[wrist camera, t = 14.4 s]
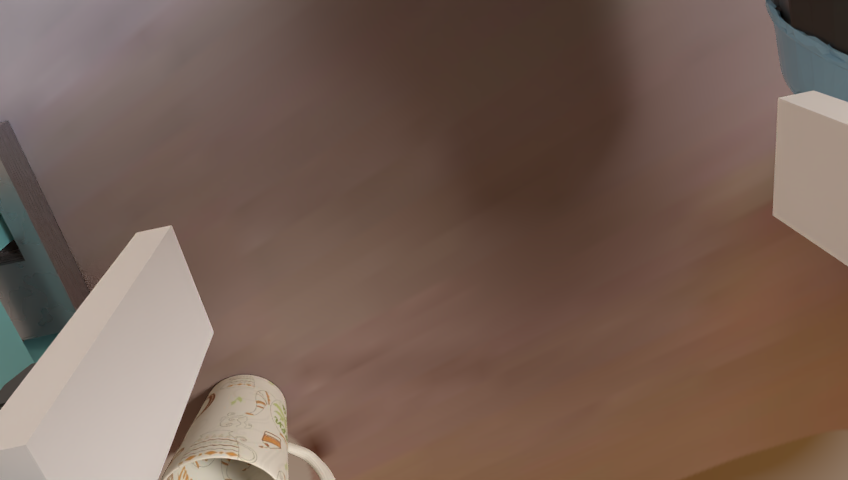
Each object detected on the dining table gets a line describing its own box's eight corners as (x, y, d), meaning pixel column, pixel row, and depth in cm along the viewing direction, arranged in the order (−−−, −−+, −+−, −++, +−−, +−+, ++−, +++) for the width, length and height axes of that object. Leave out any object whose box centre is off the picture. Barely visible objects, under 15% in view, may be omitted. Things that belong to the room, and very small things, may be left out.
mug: (220, 344, 48) (187, 437, 39) (367, 408, 52) (369, 508, 43) (173, 422, 51) (133, 527, 42) (317, 478, 54) (308, 586, 45)
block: (-119, 147, 40) (-148, 160, 38) (8, 121, 40) (-14, 131, 38) (38, 421, 50) (22, 444, 47) (140, 399, 50) (130, 421, 47)
